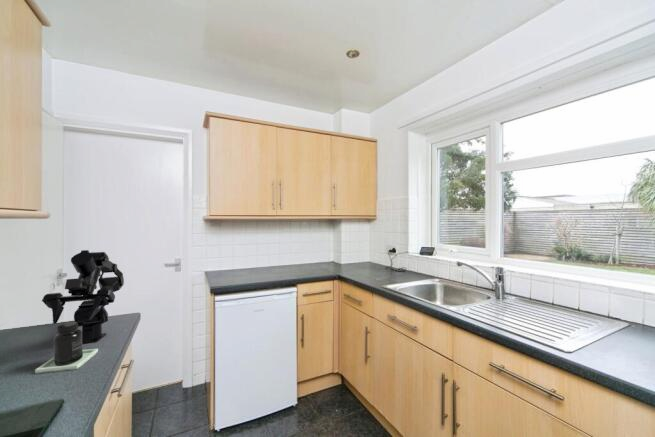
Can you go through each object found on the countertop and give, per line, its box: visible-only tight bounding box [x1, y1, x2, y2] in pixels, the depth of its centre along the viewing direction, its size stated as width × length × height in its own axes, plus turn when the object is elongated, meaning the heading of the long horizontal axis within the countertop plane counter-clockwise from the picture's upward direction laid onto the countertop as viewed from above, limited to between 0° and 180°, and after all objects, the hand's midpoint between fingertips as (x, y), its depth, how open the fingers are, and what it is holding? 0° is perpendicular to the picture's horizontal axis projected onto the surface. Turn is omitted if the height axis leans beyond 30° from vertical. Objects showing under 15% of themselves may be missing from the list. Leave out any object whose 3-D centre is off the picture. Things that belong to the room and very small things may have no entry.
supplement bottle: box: [53, 321, 84, 366], centre depth 88 cm, size 7×7×12 cm
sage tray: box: [34, 348, 99, 375], centre depth 88 cm, size 11×11×1 cm
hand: (72, 321), depth 90 cm, fingers open, 9 cm apart
